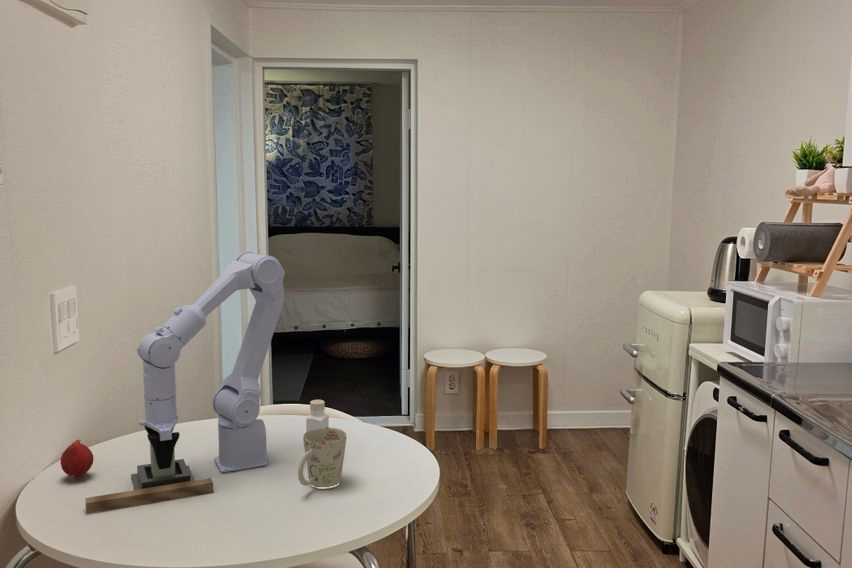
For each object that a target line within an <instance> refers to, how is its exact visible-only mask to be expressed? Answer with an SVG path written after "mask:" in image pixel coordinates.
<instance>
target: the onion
mask: <svg viewBox="0 0 852 568" xmlns="http://www.w3.org/2000/svg"><path fill="white" fill-rule="evenodd" d="M94 458H95V457H94V454H93V452H92V451H91V449H90V448H89V447H88V446H87V445H85V444H83V443H81V439H80V438H76V439H74V441H73V442H72V443H71V444H70V445H68V447H66V449H64V451H63V453H61V457H60V466H61V469H62V471H63V473H64V474H66V475H68V476H70V477H72V478H74V479H81V478H82V477H83V476H84V475H86V473H88V471H89V470H90V469H91V468H92V466H93V464H94Z"/></svg>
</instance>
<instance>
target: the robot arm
mask: <svg viewBox="0 0 852 568" xmlns="http://www.w3.org/2000/svg"><path fill="white" fill-rule="evenodd" d="M285 275H286V271H285V270H284V267H283V266H282V264H281V263H280V261H279V260H278V259H277V258H276V257H274V256H271V255H263V254H258V253H255V252H251V251H245V252H242V253H240V254H239V255H238V256H237V257H236V258H235V259H234V260H233V261H231V262H230V263H229V264H228V265H227V267H226V268H225V270H224V272H222V274H220V276H219V277H218V278H217V279H216V280H215V281H214V282H213V283H212V284H211V285H210V286H209V287H208V289H206V290H205V291H204V293H203V294H201V296H199V298H198V299H197V300H196V301H195V302H194V303H193V304H183V305H182V306H181V307H179V306H177V307H176V308H175V309H173V311H172V312H173V315H171V316H170V318H168V319H167V320H166V321H165V322H164V323H163V324H162V325H161V326H159V325H158V326H156V328H155V329H154V330H155V332H152V333H148V334H147V335H145V336H144V337H143V338H142V339H141V341H140V344H139V346H138V348H137V349H136V351H137V355H138V357H139V358H140V359H141V360H142V364H143V365H142V366H143V369H142V370H143V374H142V375H143V397H144V416H145V417H144V418H140V419H138V424H139V426H141V427H143V426H144V429H145V431H146V432H147V435H146V436H147V440H148V441H149V444H150V443H151V444H152V446H153V449H154V452H155V456H156V461H157V465H158V468H159V469H166V468H170V467H171V463H172V457H173V451H174V452H175V447H176V445H177V444H178V443H177V442H178V441H179V439H180V432H179V431H176V432H174V429H175V427H176V425H177V423H178V421H179V416H178V413H177V409H178V408H177V388H176V365H175V363H176V362H177V363H178V360H179V358H180V355H181V351H182V349H183V348H184V347H185V346H186V345H187V344H188V343H189V342H190V341H191V340H193V338H194V337H196V335H198V334H199V332H200V331H202V330H203V328H205V327H206V322H207V321H206V319H207V316H209V315H210V314H211V313H212V312H213V311H214V310H215V309H217V308H218V307H219V306H220V305H221V304H223V302H225V301H226V300H227V299H228V298H230V297H231V295H233V294H234V293H236V291H240V290H249V291H250V293H251V295H252V296H253V298H254V300H255V304H254V307H253V309H252V313H251V315H250V318H249V322H248V324H247V327H246V330H245V333H244V336H243V339H242V342H241V345H240V348H239V351H238V354H237V356H236V357H237V358H236V360H235V363H234V366H233V369H232V372H231V373H230V374H229V375H228V376H226V377H224V379H223V381H222V382H221V383H222V384H221V386H220V387H219V388H218V389H217V390H216V392H215V393H214V395H213V397H212V402H211V403H212V404H211V405H212V409H213V411H214V412H215V413H216V414H217V415H218V418H217V430H218V431H217V434H218V435H217V436H218V456H214V458H213V459H214V461H215V463H216V465H217V467H218V469H219V471H220V472H221V473H229V472H235V471H240V470H247V469H254V468H261V467H266V466H268V460H267V458H268V456H267V454H268V453H267V451H268V450H267V428H266V425H265V422H264V419H262V418H258V417H259V414H260V408H261V407H260V399H261V395H262V391H261V390H262V389H261V388H260V385H259V382H258V380H259V379H260V374H261V371H262V368H263V365H264V362H265V359H266V357H267V354H268V351H269V348H270V345H271V342H272V339H273V335H274V332H275V330H276V328H277V327H276V326H277V324H278V320H279V318H280V315H281V311H282V308H283V305H284V303H285V291H284V281H283V280H284V277H285Z"/></svg>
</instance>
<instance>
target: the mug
mask: <svg viewBox="0 0 852 568" xmlns="http://www.w3.org/2000/svg"><path fill="white" fill-rule="evenodd" d="M302 439H303V447H304V454H303V455H302V457H301V458H300V461H299V464H298V469H297V478H298V481H299V483H300V484H301V485H302V486H304V487H305V486H306V487H308V486H309V485H310V484H311V485H313V486H315V487H330V486H334V485H337V484H338V483H340V484H341V482H340V481H342V475H343V467H344V459H345V453H346V445H347V444H346V443H347V433H346V431H345V430H342V429H340V428H338V427H337V428H336V427H329V428H328V427H325V428H316V429H312V430H309V431H307V432H306V431H305V432H304V434H303V436H302ZM305 464H306V467H307V475H308V480H306V479H305V477H304V468H305ZM311 485H310V486H311Z"/></svg>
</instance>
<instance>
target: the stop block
mask: <svg viewBox="0 0 852 568" xmlns="http://www.w3.org/2000/svg"><path fill="white" fill-rule="evenodd" d="M149 449H150V451H149V452H150V454H149V455H150V464H151V472H152V476H153V478H159V477H166V476H172V475H175V460H176V458H175V457H176V456H175V450H174V451H173V457H172V463H171V467H170V468H166V469H159V468H158V465H157V461H156V456H155V452H154V449H153V446H152V444H151V443H150V442H149Z"/></svg>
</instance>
